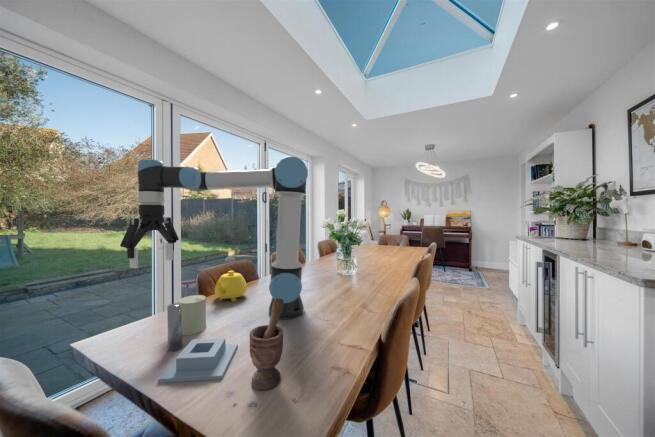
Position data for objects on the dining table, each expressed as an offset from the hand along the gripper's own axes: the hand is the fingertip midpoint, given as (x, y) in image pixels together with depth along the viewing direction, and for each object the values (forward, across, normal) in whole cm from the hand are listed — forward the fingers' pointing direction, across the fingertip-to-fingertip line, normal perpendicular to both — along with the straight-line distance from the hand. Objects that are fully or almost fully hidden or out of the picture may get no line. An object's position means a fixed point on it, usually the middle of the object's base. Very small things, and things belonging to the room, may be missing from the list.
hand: (152, 263), depth 90 cm
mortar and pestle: (+26, +10, +51) cm, 58 cm away
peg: (+26, +5, +15) cm, 30 cm away
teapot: (+26, -38, +3) cm, 46 cm away
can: (+26, -7, +10) cm, 29 cm away
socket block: (+26, +10, +29) cm, 40 cm away
